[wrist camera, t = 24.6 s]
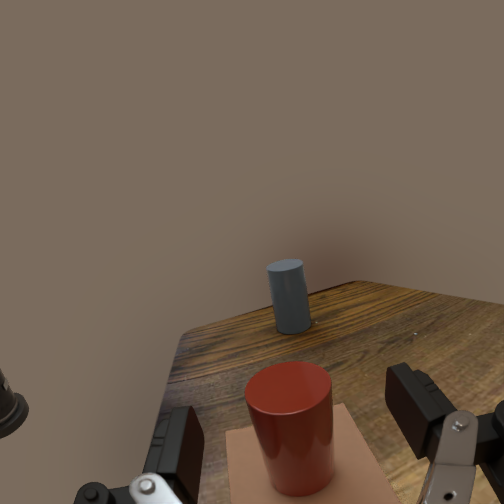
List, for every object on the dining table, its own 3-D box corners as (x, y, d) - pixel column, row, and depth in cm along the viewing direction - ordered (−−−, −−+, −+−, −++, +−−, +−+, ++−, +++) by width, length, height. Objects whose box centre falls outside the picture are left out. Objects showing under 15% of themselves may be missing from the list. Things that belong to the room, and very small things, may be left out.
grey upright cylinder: (280, 337, 44) (269, 273, 42) (274, 322, 49) (263, 263, 47) (315, 329, 44) (307, 265, 42) (306, 314, 49) (297, 256, 47)
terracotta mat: (237, 554, 13) (236, 553, 13) (226, 433, 26) (225, 431, 26) (402, 509, 14) (403, 507, 13) (343, 405, 27) (343, 402, 27)
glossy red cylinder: (274, 503, 17) (248, 423, 15) (264, 456, 22) (240, 371, 20) (343, 485, 17) (344, 399, 15) (324, 441, 23) (316, 353, 20)
